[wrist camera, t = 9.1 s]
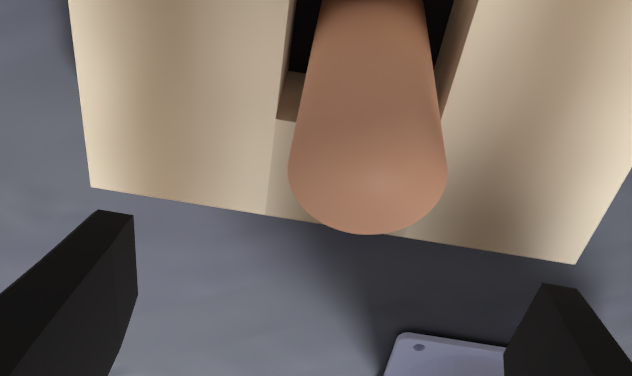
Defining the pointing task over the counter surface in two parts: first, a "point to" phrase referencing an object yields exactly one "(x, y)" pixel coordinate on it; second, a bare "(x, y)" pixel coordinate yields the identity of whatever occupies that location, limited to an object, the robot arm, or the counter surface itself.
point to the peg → (369, 119)
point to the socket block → (285, 96)
